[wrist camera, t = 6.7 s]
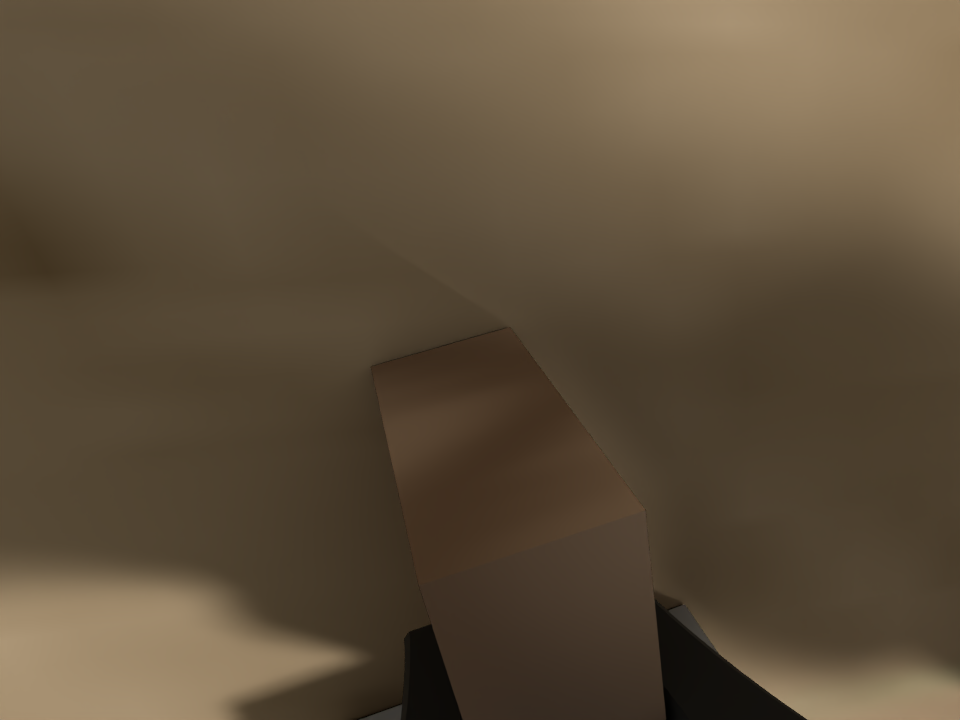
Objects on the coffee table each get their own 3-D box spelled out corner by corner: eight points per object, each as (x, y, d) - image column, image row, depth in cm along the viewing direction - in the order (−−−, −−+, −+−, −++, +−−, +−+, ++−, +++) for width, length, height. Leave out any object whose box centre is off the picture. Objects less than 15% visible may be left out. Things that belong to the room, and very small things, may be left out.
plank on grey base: (662, 283, 12) (886, 430, 7) (686, 633, 16) (837, 863, 11) (198, 415, 10) (126, 683, 6) (356, 753, 15) (379, 1055, 10)
